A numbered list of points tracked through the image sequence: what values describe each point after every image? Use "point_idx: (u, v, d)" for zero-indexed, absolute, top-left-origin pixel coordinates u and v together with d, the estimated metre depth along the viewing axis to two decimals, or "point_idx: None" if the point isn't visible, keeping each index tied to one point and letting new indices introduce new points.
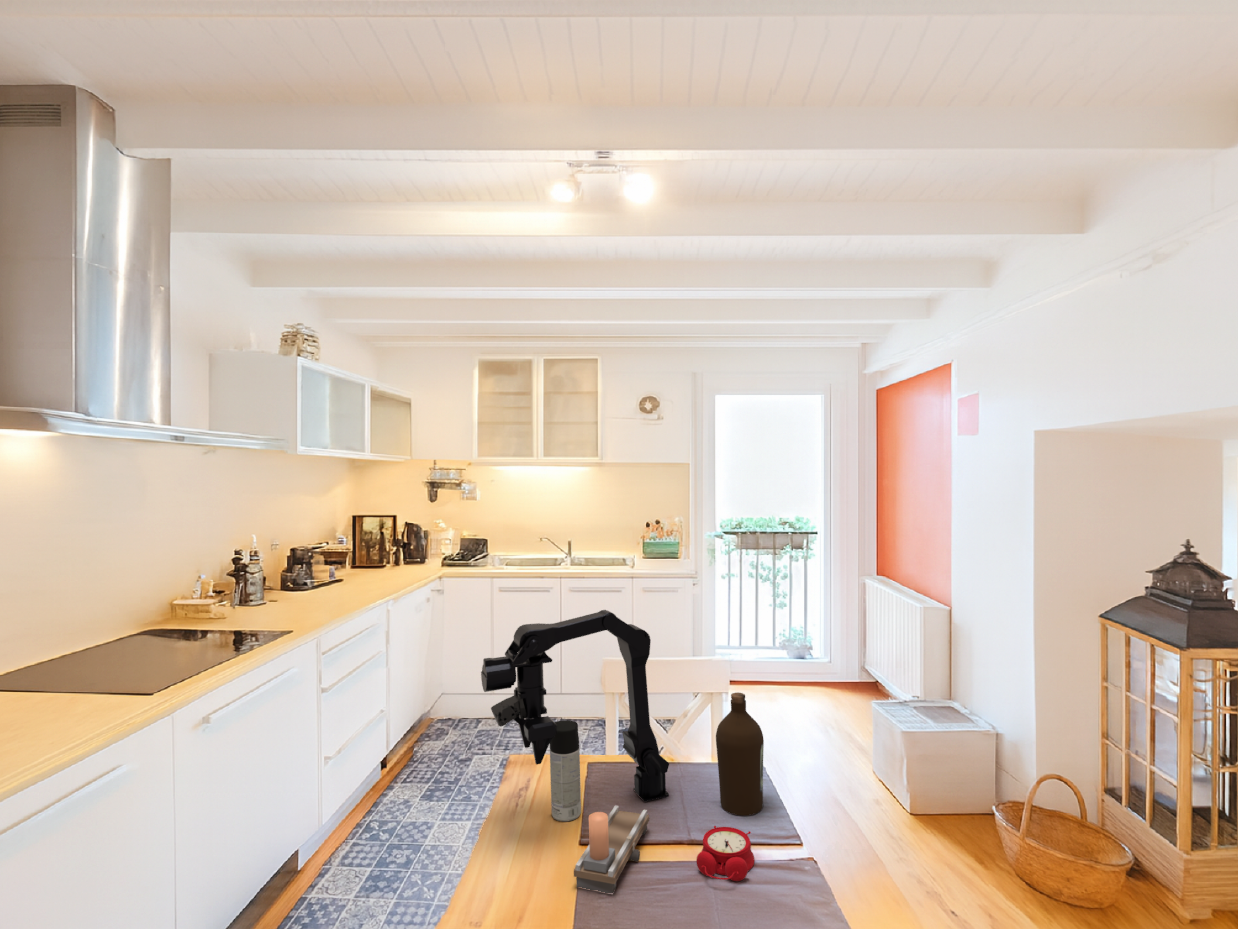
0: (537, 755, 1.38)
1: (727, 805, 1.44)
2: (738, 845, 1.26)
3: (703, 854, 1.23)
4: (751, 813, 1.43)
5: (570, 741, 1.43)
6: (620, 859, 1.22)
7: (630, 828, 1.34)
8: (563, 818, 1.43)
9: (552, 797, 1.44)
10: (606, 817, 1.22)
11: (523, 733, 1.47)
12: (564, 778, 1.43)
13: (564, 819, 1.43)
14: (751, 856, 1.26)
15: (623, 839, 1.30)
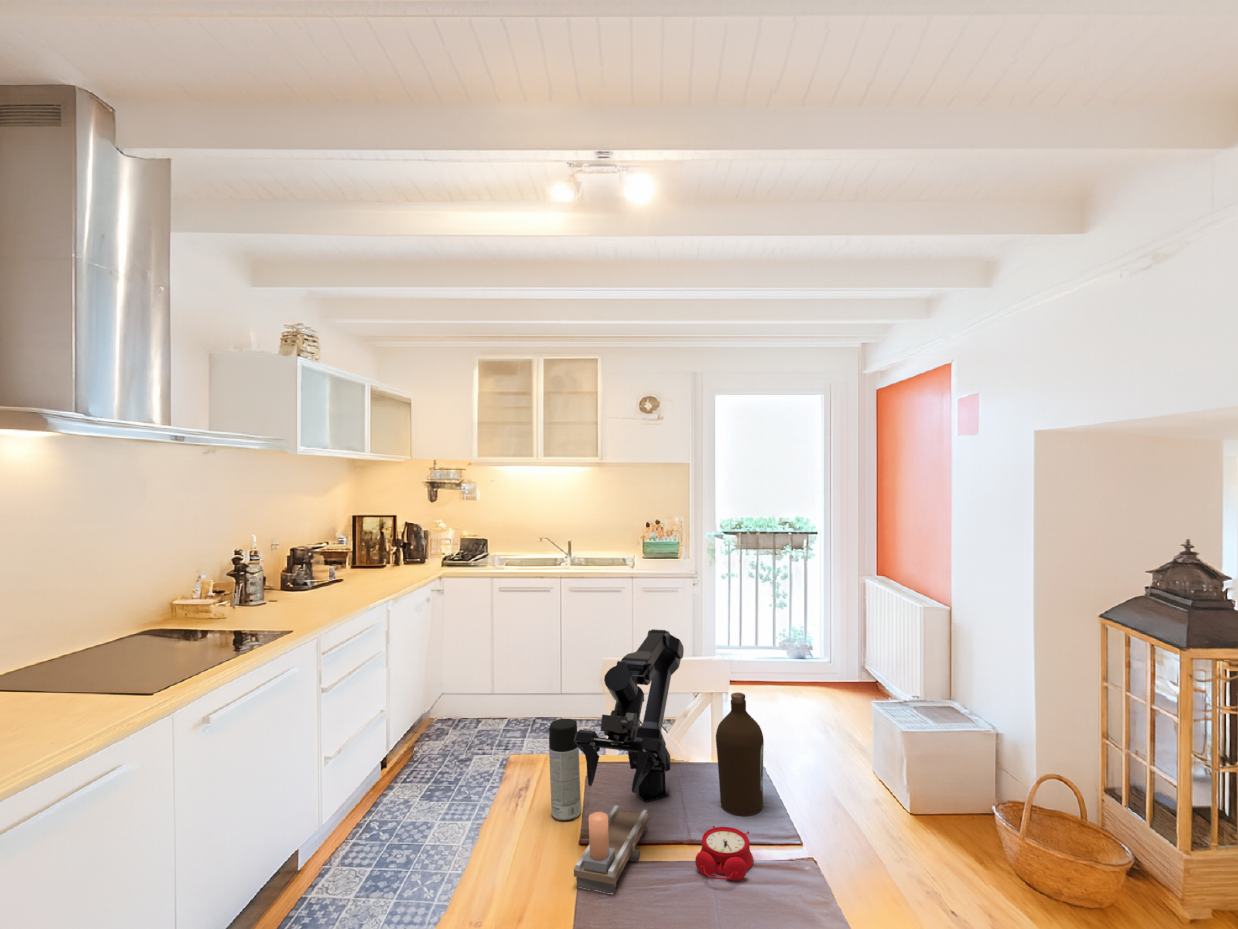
0: (638, 780, 1.29)
1: (727, 805, 1.44)
2: (737, 845, 1.26)
3: (702, 854, 1.23)
4: (751, 813, 1.43)
5: (569, 739, 1.44)
6: (620, 859, 1.22)
7: (630, 828, 1.34)
8: (563, 817, 1.43)
9: (552, 796, 1.45)
10: (606, 817, 1.22)
11: (592, 767, 1.33)
12: (563, 776, 1.43)
13: (564, 818, 1.43)
14: (750, 856, 1.26)
15: (623, 839, 1.30)
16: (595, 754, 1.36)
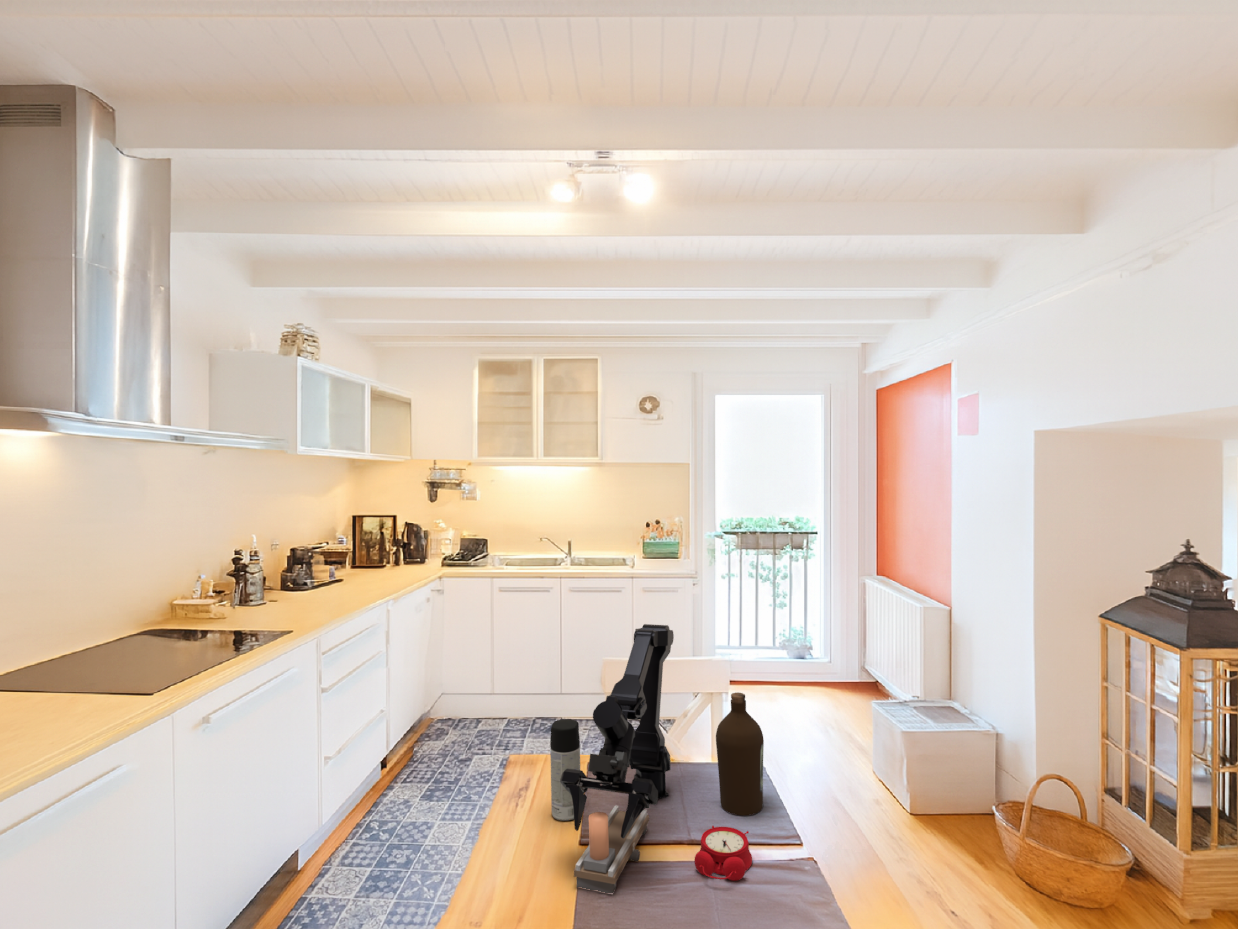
0: (628, 824, 1.22)
1: (727, 805, 1.44)
2: (736, 845, 1.26)
3: (701, 854, 1.23)
4: (751, 813, 1.43)
5: (570, 739, 1.43)
6: (620, 859, 1.22)
7: (630, 828, 1.34)
8: (563, 817, 1.43)
9: (552, 796, 1.45)
10: (606, 817, 1.22)
11: (579, 810, 1.25)
12: None
13: (563, 818, 1.43)
14: (749, 856, 1.26)
15: (623, 839, 1.30)
16: (582, 795, 1.28)
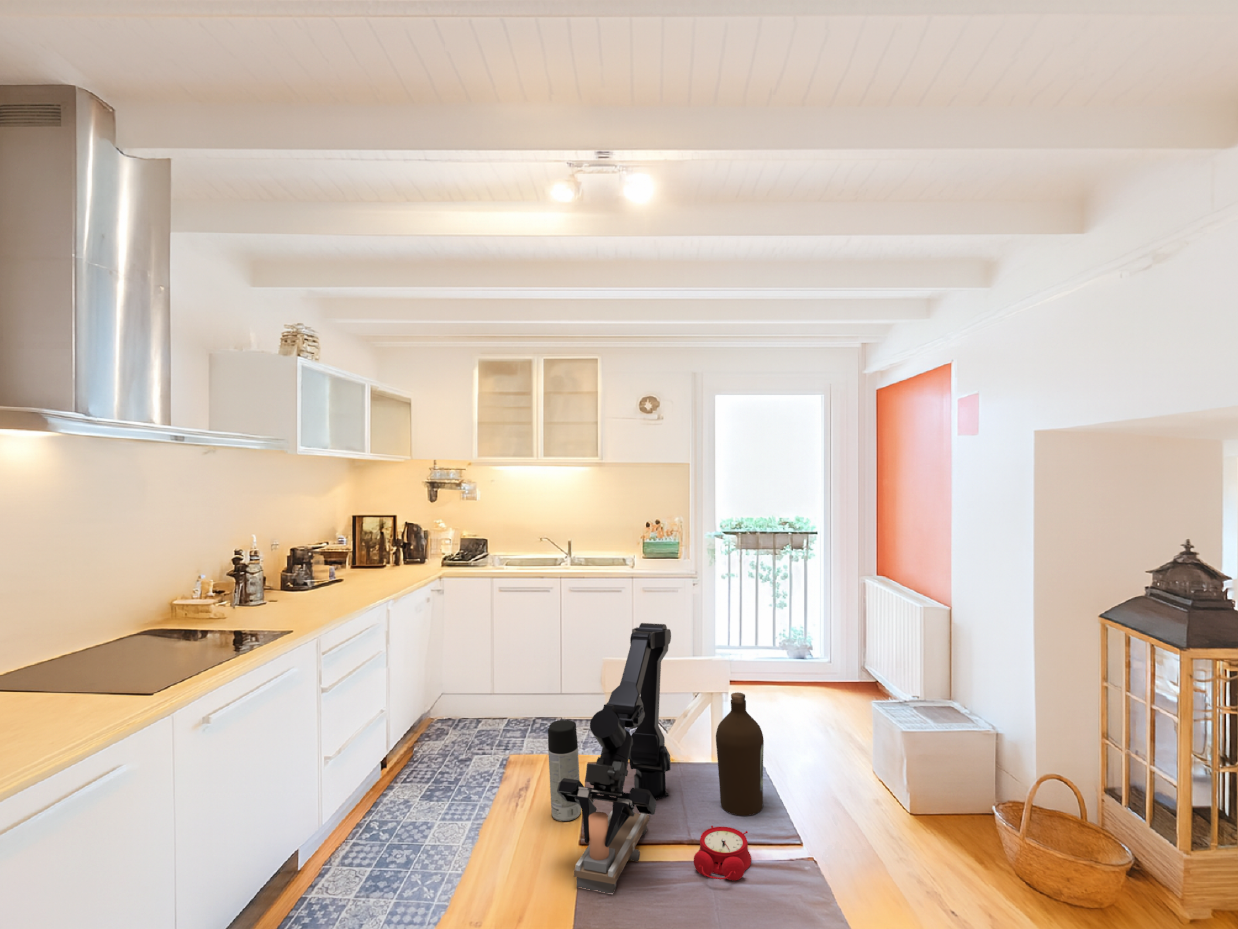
0: (612, 833, 1.21)
1: (727, 805, 1.44)
2: (735, 845, 1.26)
3: (700, 854, 1.23)
4: (751, 813, 1.43)
5: (568, 741, 1.43)
6: (620, 859, 1.22)
7: (630, 828, 1.34)
8: (562, 818, 1.43)
9: (551, 797, 1.44)
10: (606, 817, 1.22)
11: None
12: (562, 778, 1.43)
13: (563, 819, 1.43)
14: (748, 856, 1.26)
15: (623, 839, 1.30)
16: (592, 807, 1.26)
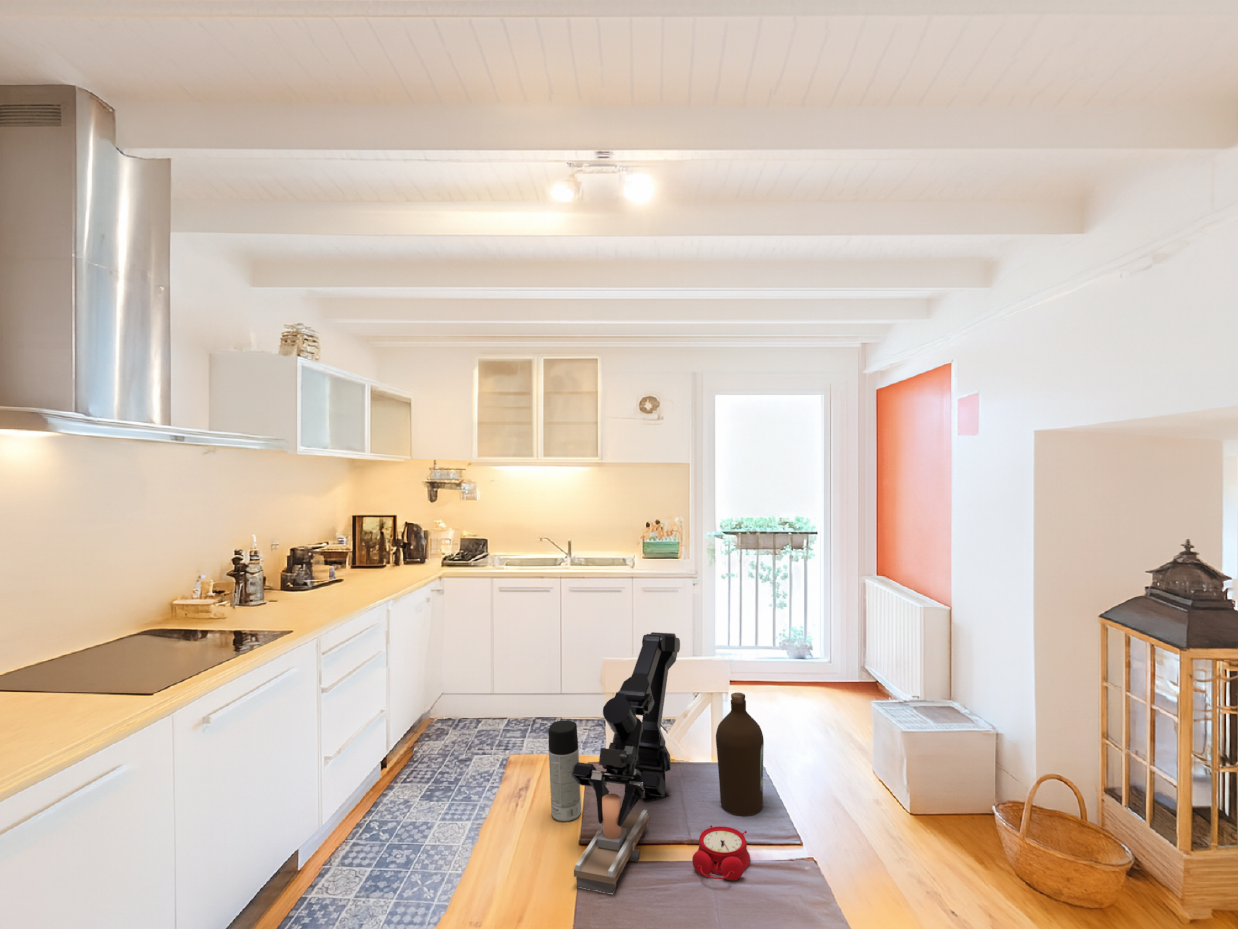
0: (625, 813, 1.28)
1: (727, 805, 1.44)
2: (734, 845, 1.26)
3: (699, 854, 1.23)
4: (751, 813, 1.43)
5: (568, 742, 1.42)
6: (620, 859, 1.22)
7: (630, 828, 1.34)
8: (562, 818, 1.43)
9: (551, 797, 1.44)
10: (619, 798, 1.28)
11: None
12: (562, 779, 1.42)
13: (563, 819, 1.43)
14: (747, 855, 1.26)
15: None
16: (605, 789, 1.33)
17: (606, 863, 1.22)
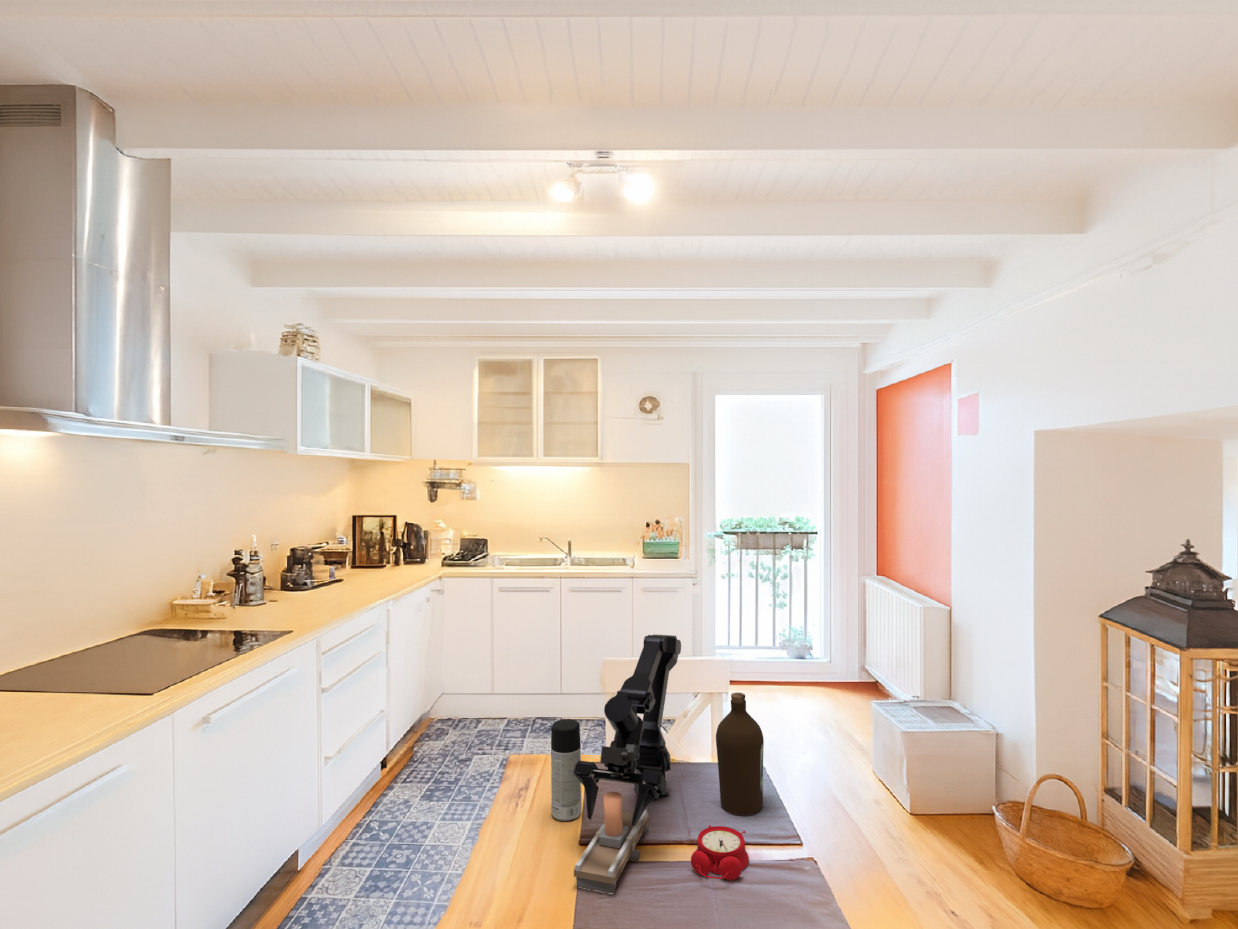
0: (638, 813, 1.28)
1: (727, 805, 1.44)
2: (733, 845, 1.26)
3: (697, 853, 1.23)
4: (751, 813, 1.43)
5: (570, 740, 1.43)
6: (620, 859, 1.22)
7: (630, 828, 1.34)
8: (562, 817, 1.43)
9: (552, 795, 1.45)
10: (620, 796, 1.29)
11: (591, 800, 1.31)
12: (563, 777, 1.43)
13: (563, 818, 1.43)
14: (745, 855, 1.26)
15: None
16: (594, 786, 1.34)
17: (606, 863, 1.22)
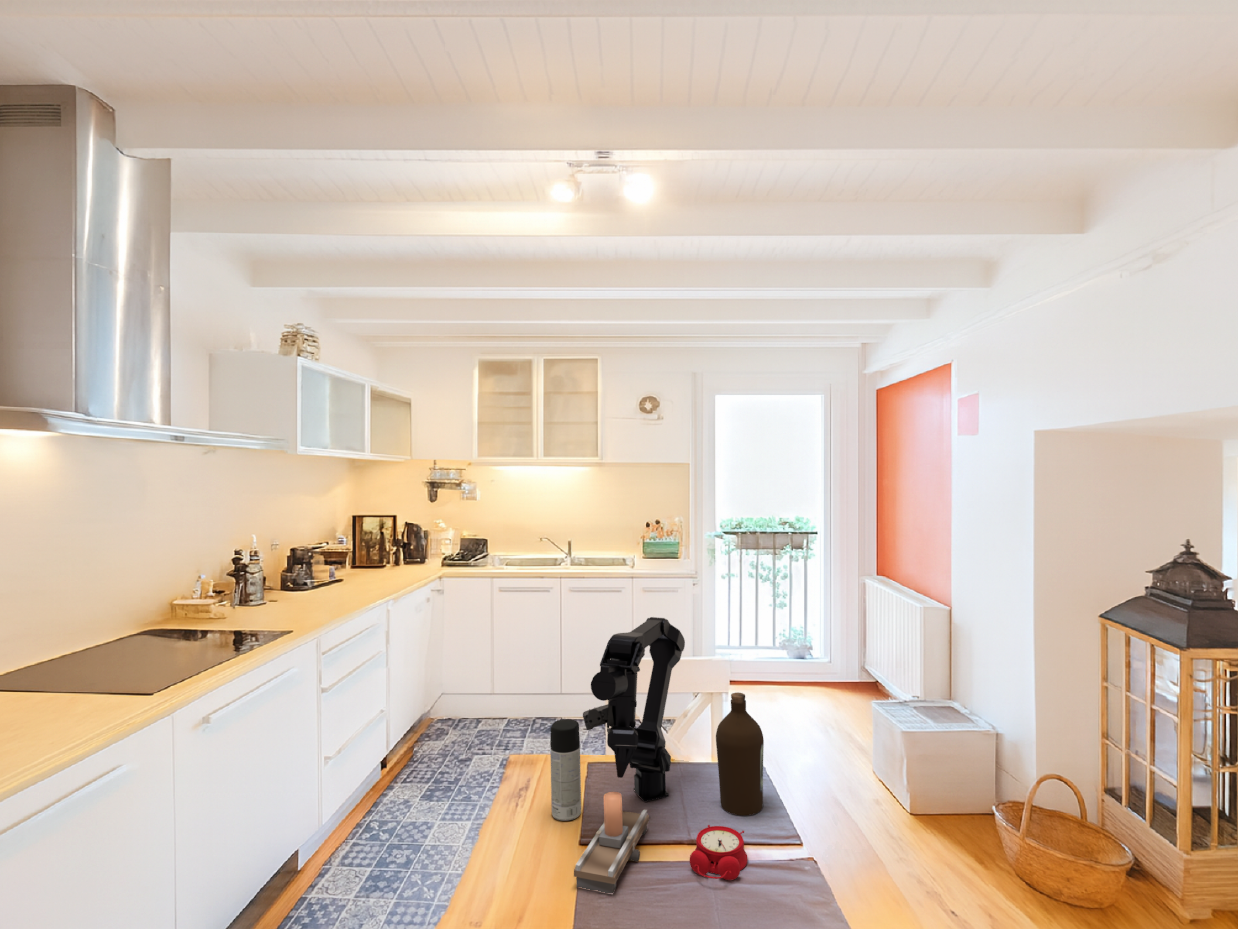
0: (618, 767, 1.34)
1: (727, 805, 1.44)
2: (731, 845, 1.26)
3: (696, 853, 1.23)
4: (751, 813, 1.43)
5: (569, 740, 1.43)
6: (620, 859, 1.22)
7: (630, 828, 1.34)
8: (562, 817, 1.43)
9: (552, 795, 1.45)
10: (620, 796, 1.29)
11: None
12: (563, 777, 1.43)
13: (562, 818, 1.43)
14: (744, 855, 1.26)
15: None
16: None
17: (606, 863, 1.22)
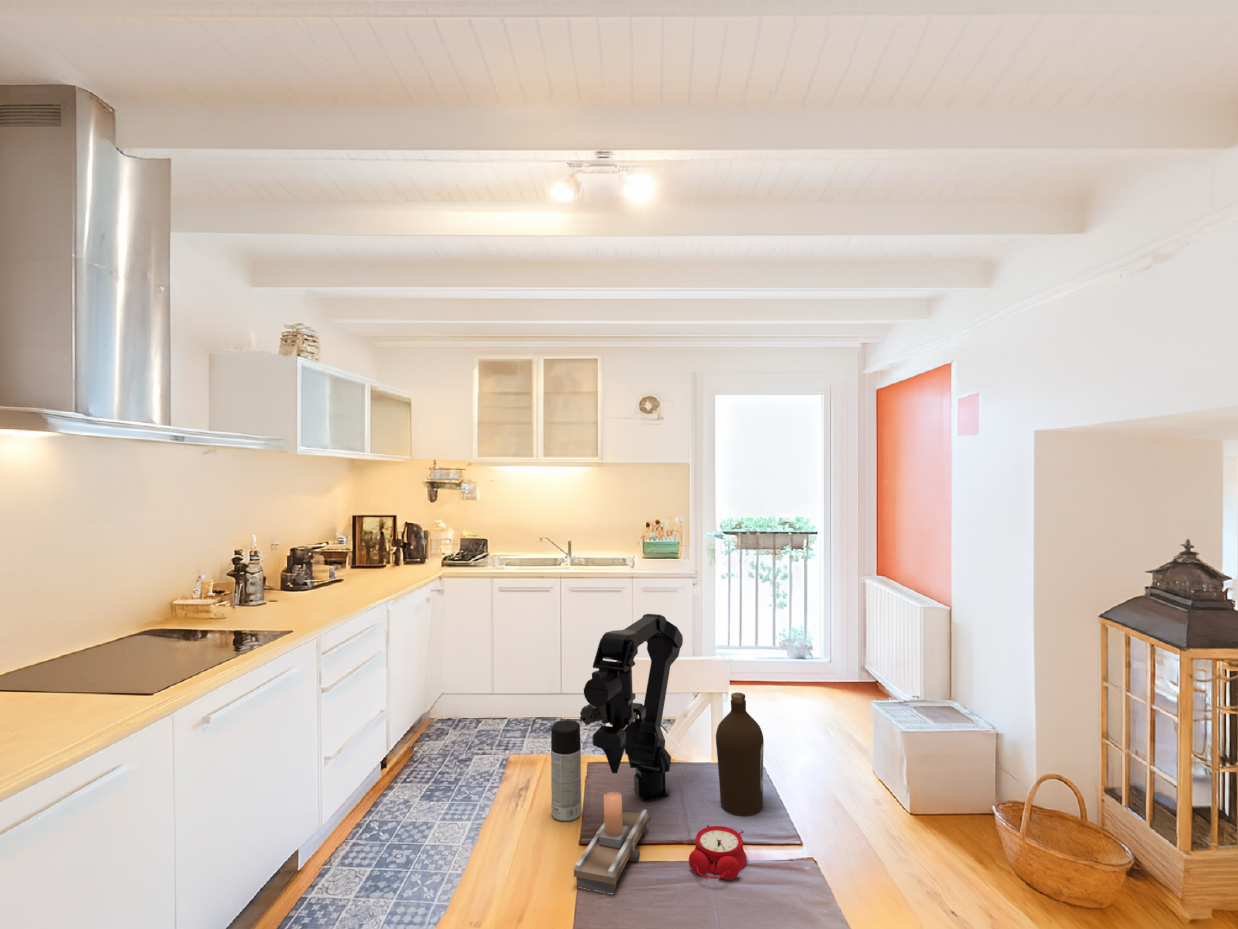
0: (611, 764, 1.36)
1: (727, 805, 1.44)
2: (731, 844, 1.26)
3: (695, 853, 1.24)
4: (751, 813, 1.43)
5: (570, 742, 1.43)
6: (620, 859, 1.22)
7: (630, 828, 1.34)
8: (562, 818, 1.43)
9: (552, 796, 1.45)
10: (620, 796, 1.29)
11: None
12: (563, 778, 1.42)
13: (562, 819, 1.43)
14: (743, 855, 1.26)
15: None
16: (629, 725, 1.46)
17: (606, 863, 1.22)
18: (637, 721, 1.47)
